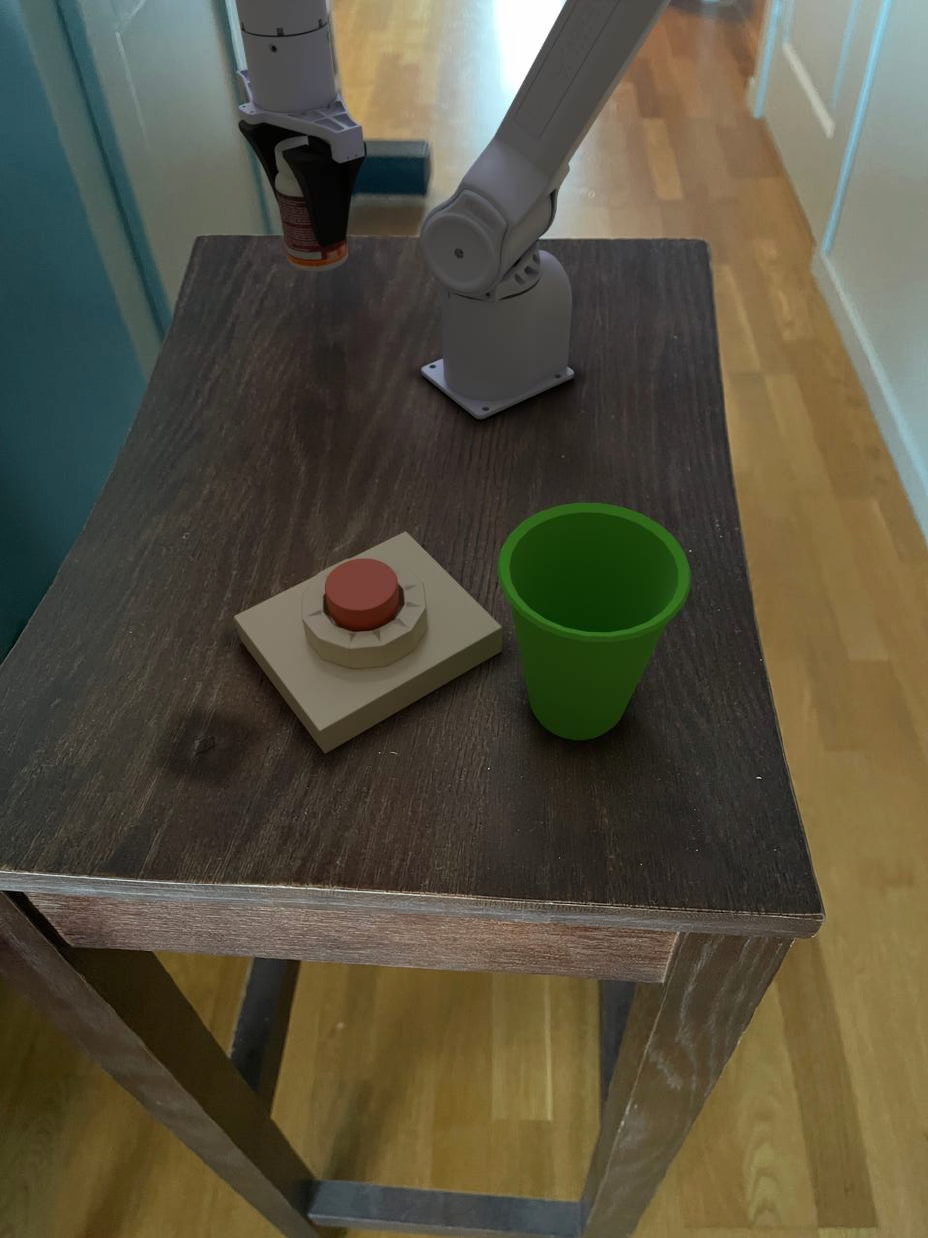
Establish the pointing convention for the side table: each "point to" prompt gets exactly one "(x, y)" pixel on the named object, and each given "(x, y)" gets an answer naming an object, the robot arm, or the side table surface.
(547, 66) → the robot arm
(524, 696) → the side table surface
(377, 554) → the button housing
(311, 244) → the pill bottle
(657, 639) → the cup
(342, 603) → the lid button
